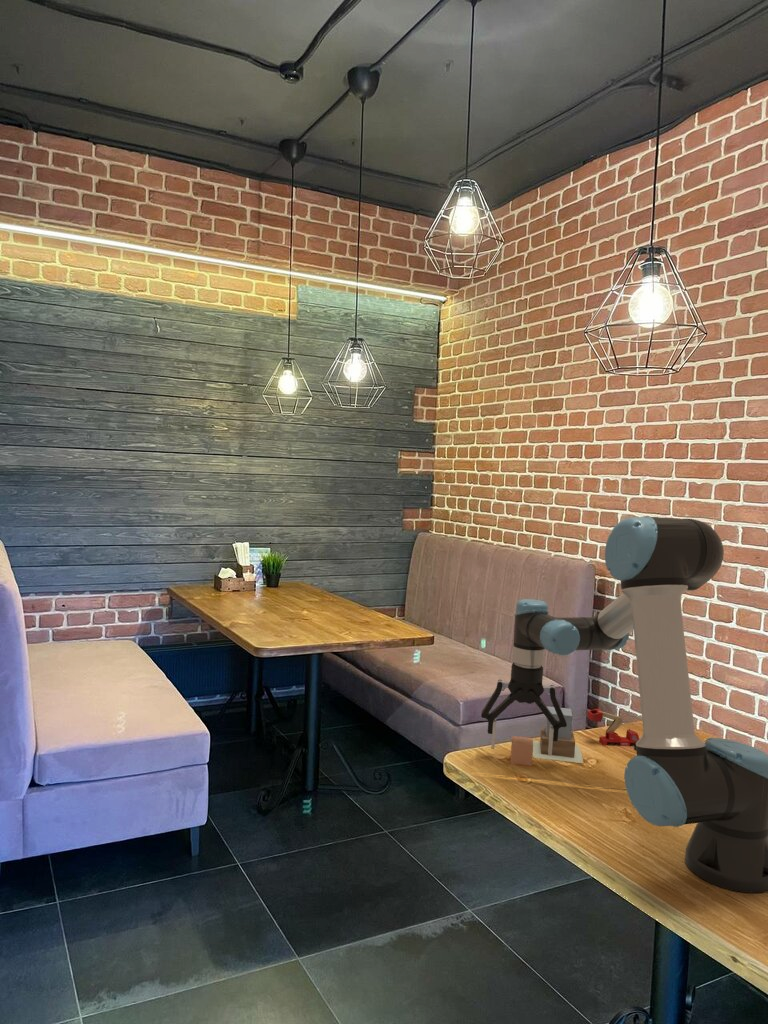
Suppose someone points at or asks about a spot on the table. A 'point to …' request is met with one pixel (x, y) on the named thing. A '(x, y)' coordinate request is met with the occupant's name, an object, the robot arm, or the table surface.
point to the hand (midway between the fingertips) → (521, 750)
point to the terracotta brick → (522, 750)
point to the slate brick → (563, 731)
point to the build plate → (538, 754)
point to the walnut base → (558, 745)
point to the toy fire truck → (611, 736)
